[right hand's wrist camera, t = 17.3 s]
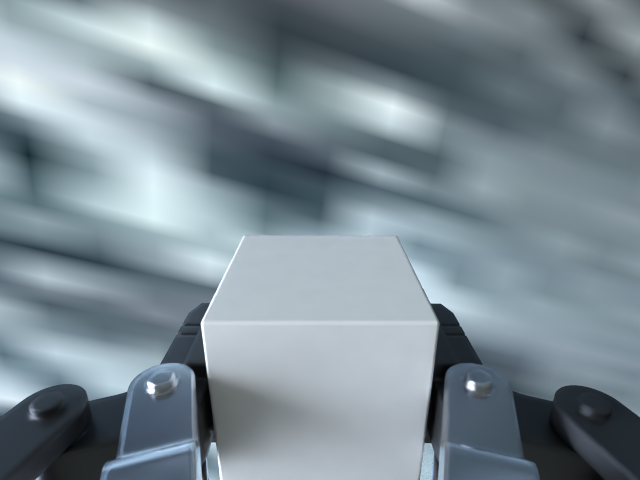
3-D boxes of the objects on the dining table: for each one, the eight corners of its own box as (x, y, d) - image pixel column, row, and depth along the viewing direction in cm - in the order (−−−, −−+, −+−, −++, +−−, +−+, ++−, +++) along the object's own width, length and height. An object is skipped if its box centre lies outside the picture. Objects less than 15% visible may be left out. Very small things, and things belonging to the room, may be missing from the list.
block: (253, 369, 14) (222, 501, 9) (243, 234, 12) (199, 322, 8) (387, 369, 14) (418, 502, 9) (397, 235, 12) (441, 322, 7)
